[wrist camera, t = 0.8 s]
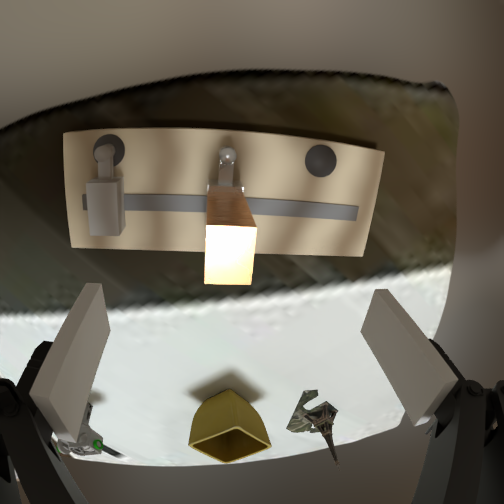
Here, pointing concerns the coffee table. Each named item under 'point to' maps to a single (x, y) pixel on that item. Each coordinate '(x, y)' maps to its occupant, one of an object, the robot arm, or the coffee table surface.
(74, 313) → the robot arm
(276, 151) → the gauge board
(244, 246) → the slide leg
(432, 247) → the coffee table surface
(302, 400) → the eiffel tower figurine
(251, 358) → the coffee table surface
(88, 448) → the mechanical component
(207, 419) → the flower pot
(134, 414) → the coffee table surface
